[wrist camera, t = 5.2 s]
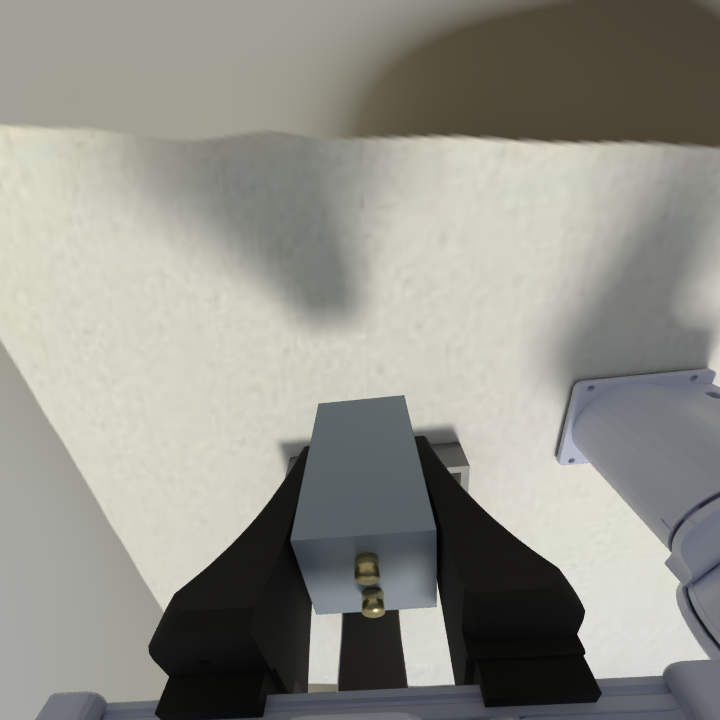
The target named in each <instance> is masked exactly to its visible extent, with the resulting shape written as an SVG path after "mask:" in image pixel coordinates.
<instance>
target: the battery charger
mask: <svg viewBox="0 0 720 720" xmlns="http://www.w3.org/2000/svg"><path fill="white" fill-rule="evenodd" d="M400 688H408V685H407V676H406V669H405V661H404V654H403V647H402V640H401V631H400V620H399V609H398V610H385V614H384V615H382V616H381V617H377V618H369V617H366V616H364V615H363V614H362V612H350V613H342V623H341V643H340V653H339V666H338V679H337V692H338V691H358V690H379V689H400Z"/></svg>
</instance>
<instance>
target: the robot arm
mask: <svg viewBox="0 0 720 720" xmlns="http://www.w3.org/2000/svg"><path fill="white" fill-rule="evenodd" d="M715 376H716V373H715V371H713V370H711V369H696V370H686V371H676V372H666V373H656V374H646V375H636V376H625V377H615V378H605V379H595V380H585V381H579V382H578V383H576V384H575V386H574V388H573V392H572V396H571V401H570V405H569V409H568V413H567V417H566V421H565V426H564V430H563V434H562V438H561V442H560V447H559V451H558V455H557V461H558V463H559V464H560V465H572V464H584V463H591V464H592V465H593V467H594V468H595V469H596V470H597V471H598V472H599V473H600V474H601V475H602V477H603V478H604V479H605V480H606V481H607V482H608V483H609V484H610V485H611V486H612V488H613V489H614V490H615V491H616V492H617V493H618V494H619V495H620V496H621V498H622V499H623V500H624V501H625V502H626V503H627V504H628V505H629V506H630V507H631V509H632V510H633V511H634V512H635V513H636V514H637V515H638V516H639V517H640V519H641V520H642V521H643V522H644V523H645V524H646V525H647V526H648V527H649V528H650V530H651V531H652V532H653V533H654V534H655V535H656V536H657V537H658V538H659V540H660V541H661V542H662V543H663V544H664V545H665V546H666V547H667V548H668V549H669V551H670V552H671V555H670V557H669V558H668V559H667V560H666V561H665V565H666V566H667V567H668V568H669V569H670V571H671V572H672V573H673V574H674V575H675V576H676V578H677V579H678V580H679V581H680V582H681V583H680V584H679V586H678V587H677V590H676V599H677V604H678V606H679V609H680V611H681V614H682V616H683V618H684V620H685V622H686V623H687V625H688V627H689V629H690V631H691V632H692V634H693V636H694V637H695V639H696V641H697V642H698V644H699V645H700V646H701V648H702V649H703V650H704V652H705V653H706V654H707V656H708V657H709V658H710V659H711V660H696V661H681V662H676V663H673V664H670V665H669V666H667V667H666V668H665V670H664V672H663V676H647V677H626V678H605V679H595V678H594V676H593V674H592V672H591V670H590V668H589V666H588V664H587V662H586V660H585V658H584V656H583V655H585V649H584V647H583V645H582V643H581V641H580V639H579V637H578V635H577V633H578V631H579V629H580V626H581V624H582V622H583V619H584V615H585V609H584V607H583V605H582V603H581V601H580V599H579V597H578V596H577V594H576V592H575V591H574V589H573V588H572V586H571V585H570V583H569V582H568V580H567V579H566V578H565V576H564V575H563V574H562V572H561V571H560V569H559V568H558V567H556V566H555V565H553V564H552V563H550V562H549V561H547V560H546V559H545V558H543V557H542V556H540V555H539V554H537V553H536V552H535V551H533V550H532V549H530V548H529V547H528V546H526V545H525V544H524V543H523V542H521V541H520V540H519V539H517V538H516V537H515V536H514V535H512V534H511V533H510V532H509V531H508V530H506V529H505V528H504V527H503V526H502V525H501V524H499V523H498V522H497V521H496V520H495V519H493V518H492V517H491V516H490V515H489V514H488V513H487V512H486V511H485V510H484V509H483V508H482V507H481V506H480V505H479V504H478V503H477V502H476V501H475V500H474V499H473V498H472V497H471V496H470V495H469V494H468V493H467V492H466V491H465V490H464V489H463V487H462V486H461V485H460V484H459V483H458V482H457V481H456V479H455V478H454V477H453V476H452V474H451V473H450V472H449V471H448V469H447V468H446V467H445V465H444V464H443V463H442V461H441V460H440V459H439V457H438V456H437V454H436V453H435V451H434V450H433V448H432V447H431V445H430V443H429V441H428V440H427V438H426V437H425V436H415V437H414V438H415V442H416V447H417V451H418V455H419V459H420V463H421V467H422V472H423V476H424V480H425V484H426V488H427V492H428V497H429V501H430V505H431V509H432V513H433V517H434V522H435V526H436V546H437V583H438V589H439V594H440V600H441V605H442V611H443V616H444V622H445V628H446V633H447V639H448V645H449V651H450V657H451V663H452V668H453V674H454V680H455V686H441V687H420V688H400V689H379V690H358V691H338V692H317V693H308V671H309V647H310V628H311V611H312V601H311V598H310V595H309V592H308V590H307V587H306V584H305V581H304V578H303V575H302V573H301V570H300V567H299V564H298V561H297V558H296V556H295V553H294V550H293V547H292V544H291V542H290V540H291V535H292V530H293V525H294V520H295V515H296V511H297V506H298V501H299V496H300V491H301V486H302V481H303V477H304V472H305V467H306V462H307V457H308V452H309V448H310V446H305V447H304V448H303V450H302V452H301V454H300V455H299V457H298V459H297V461H296V462H295V464H294V465H293V467H292V469H291V470H290V472H289V473H288V475H287V477H286V478H285V480H284V481H283V483H282V484H281V486H280V487H279V489H278V490H277V491H276V493H275V494H274V495H273V497H272V498H271V500H270V501H269V502H268V504H267V505H266V506H265V507H264V509H263V510H262V511H261V512H260V514H259V515H258V516H257V517H256V518H255V520H254V521H253V522H252V523H251V524H250V525H249V526H248V528H247V529H246V530H245V531H244V532H243V533H242V534H241V535H240V536H239V537H238V538H237V539H236V540H235V541H234V542H233V543H232V544H231V545H230V546H229V547H228V548H227V549H226V550H225V551H224V552H223V553H222V554H221V555H220V556H219V557H218V558H217V559H216V560H215V561H214V562H212V563H211V564H210V565H209V566H208V567H207V568H206V569H204V570H203V571H202V572H201V573H200V574H199V575H197V576H196V577H195V578H194V579H192V580H191V581H190V582H189V583H187V584H186V585H185V586H184V587H183V588H181V589H180V590H179V591H177V592H176V593H175V594H174V596H173V598H172V599H171V601H170V603H169V605H168V606H167V608H166V610H165V612H164V614H163V617H162V619H161V621H160V623H159V625H158V627H157V629H156V631H155V633H154V635H153V637H152V639H151V642H150V644H149V646H148V647H149V654H150V656H151V657H152V659H153V660H154V661H155V662H156V663H157V664H158V665H159V666H160V667H161V668H162V669H163V670H164V672H165V673H166V674H167V675H168V676H169V679H168V681H167V684H166V686H165V689H164V691H163V694H162V696H161V699H160V700H153V701H133V702H112V703H107V701H106V700H105V698H104V697H102V696H101V695H99V694H97V693H93V692H66V693H54V694H53V695H51V696H50V697H49V699H48V701H47V702H46V704H45V705H44V707H43V708H42V710H41V712H40V713H39V715H38V716H37V718H36V719H35V720H720V387H718V386H716V385H714V384H712V382H713V380H714V378H715ZM589 386H590V387H589ZM588 387H589V388H588Z"/></svg>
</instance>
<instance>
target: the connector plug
mask: <svg viewBox="0 0 720 720" xmlns="http://www.w3.org/2000/svg"><path fill="white" fill-rule="evenodd" d="M290 542H291V544H292V547H293V550H294V553H295V556H296V558H297V561H298V564H299V567H300V570H301V573H302V575H303V578H304V581H305V584H306V587H307V590H308V592H309V595H310V598H311V601H312V604H313V606H314V609H315V612H316V615H319V614H335V613H350V612H362V614H363V615H364V616H366V617H369V618H377V617H381V616H382V615H384V614H385V610H398V609H414V608H430V607H437V546H436V526H435V522H434V517H433V513H432V509H431V505H430V501H429V497H428V492H427V488H426V484H425V480H424V476H423V472H422V467H421V463H420V459H419V455H418V451H417V447H416V442H415V438H414V434H413V430H412V426H411V422H410V417H409V413H408V409H407V405H406V401H405V397H404V395H402V396H392V397H382V398H372V399H361V400H351V401H341V402H331V403H321V404H318V409H317V414H316V419H315V423H314V428H313V433H312V438H311V443H310V448H309V452H308V457H307V462H306V467H305V472H304V477H303V481H302V486H301V491H300V496H299V501H298V506H297V511H296V515H295V520H294V525H293V530H292V535H291V540H290Z"/></svg>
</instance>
